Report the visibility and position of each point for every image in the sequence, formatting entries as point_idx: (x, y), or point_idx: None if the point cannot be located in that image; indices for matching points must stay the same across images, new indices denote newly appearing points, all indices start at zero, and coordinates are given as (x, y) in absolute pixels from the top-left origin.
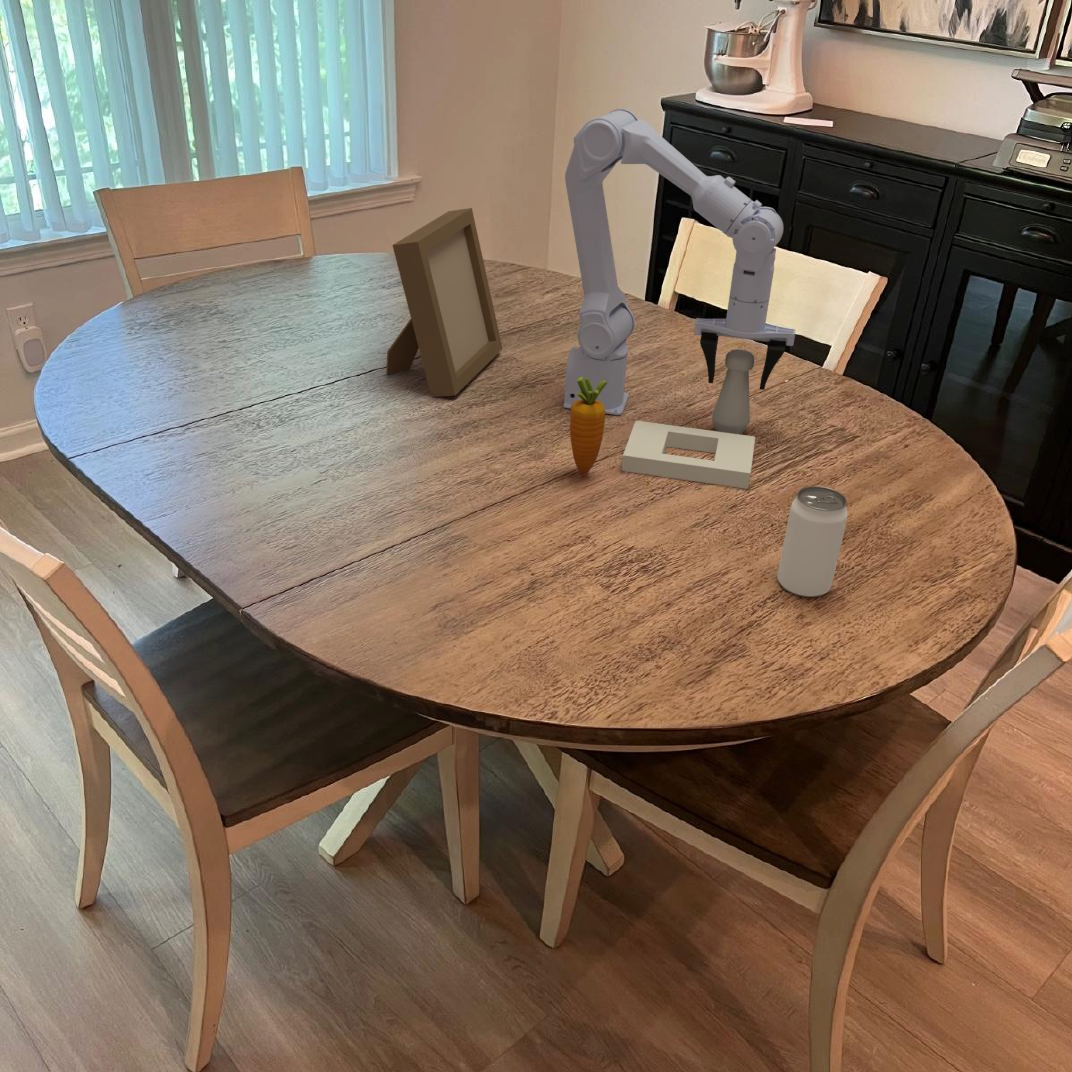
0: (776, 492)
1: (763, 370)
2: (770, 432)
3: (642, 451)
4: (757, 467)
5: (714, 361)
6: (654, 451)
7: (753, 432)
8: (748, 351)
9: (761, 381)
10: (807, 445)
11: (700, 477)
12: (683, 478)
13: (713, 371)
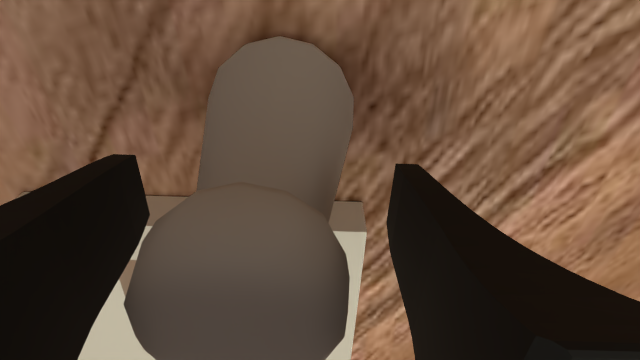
0: (402, 339)
1: (414, 257)
2: (431, 59)
3: (98, 351)
4: (370, 267)
5: (80, 296)
6: (123, 345)
7: (370, 76)
8: (293, 288)
9: (395, 263)
10: (539, 124)
11: None
12: None
13: (118, 278)
